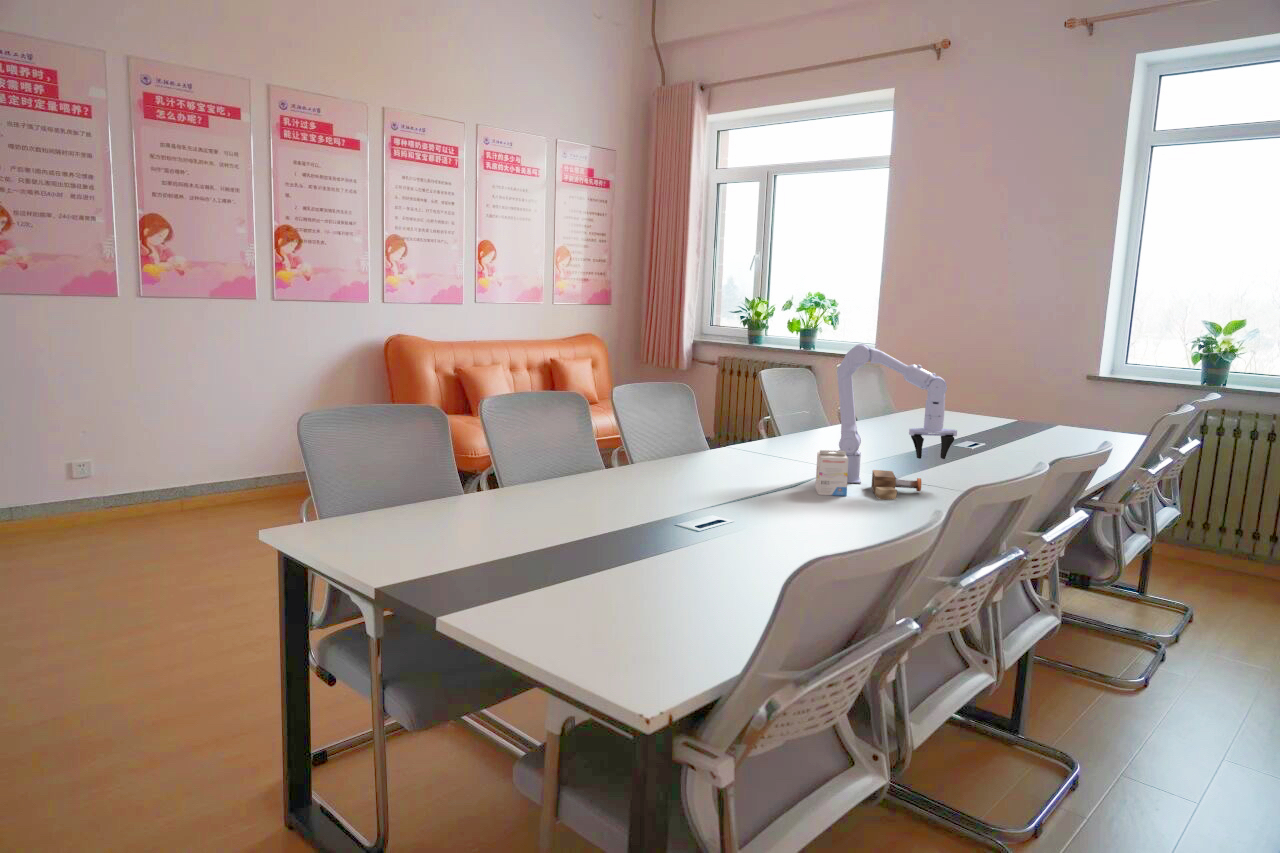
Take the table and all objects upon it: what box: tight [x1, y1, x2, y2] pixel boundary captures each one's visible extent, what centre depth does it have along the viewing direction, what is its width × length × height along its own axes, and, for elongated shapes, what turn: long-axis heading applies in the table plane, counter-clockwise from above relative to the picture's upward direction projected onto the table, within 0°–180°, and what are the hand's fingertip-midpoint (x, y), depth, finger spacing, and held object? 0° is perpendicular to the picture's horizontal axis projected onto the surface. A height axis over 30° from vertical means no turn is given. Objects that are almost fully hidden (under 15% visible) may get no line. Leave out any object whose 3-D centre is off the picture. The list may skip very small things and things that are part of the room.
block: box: [874, 487, 898, 500], centre depth 255 cm, size 5×4×3 cm
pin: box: [895, 477, 922, 492], centre depth 263 cm, size 12×4×4 cm, turn 79°
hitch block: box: [871, 469, 897, 495], centre depth 264 cm, size 6×10×5 cm, turn 169°
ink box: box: [815, 449, 848, 497], centre depth 259 cm, size 9×8×13 cm
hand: (930, 458), depth 269 cm, fingers open, 7 cm apart
